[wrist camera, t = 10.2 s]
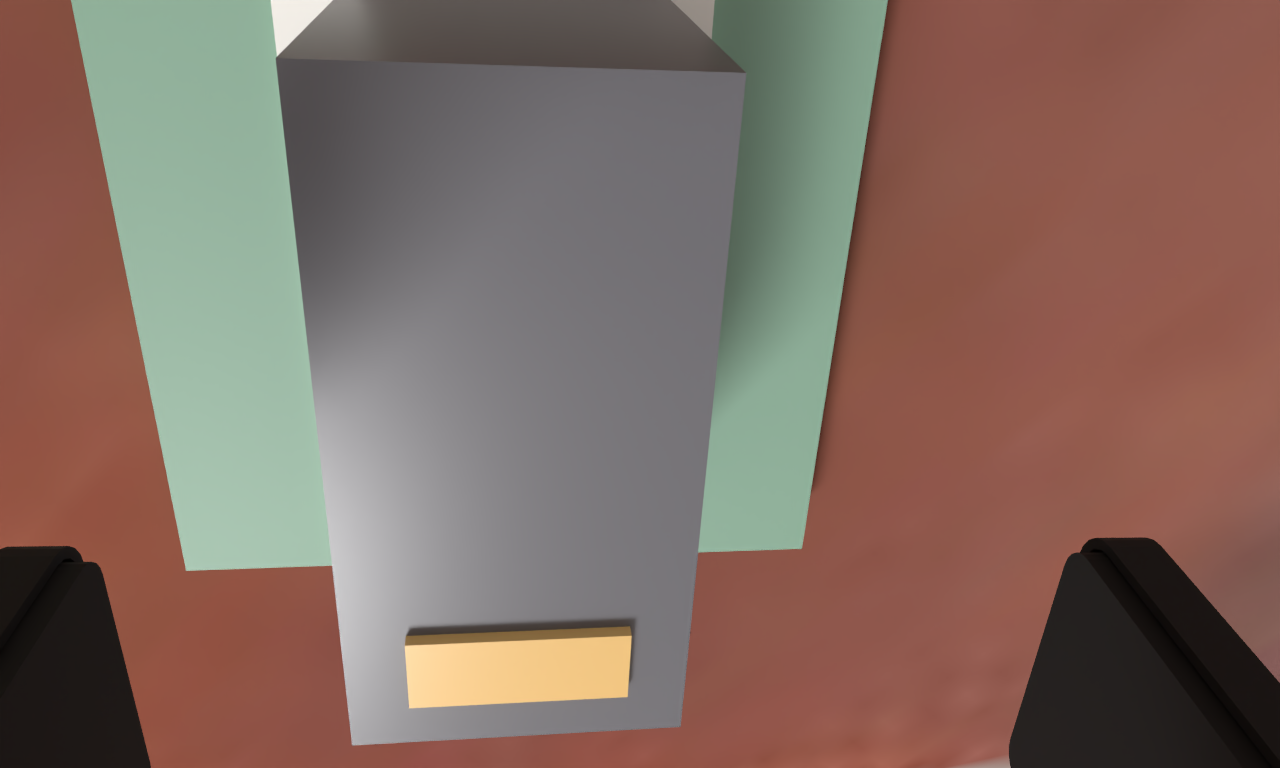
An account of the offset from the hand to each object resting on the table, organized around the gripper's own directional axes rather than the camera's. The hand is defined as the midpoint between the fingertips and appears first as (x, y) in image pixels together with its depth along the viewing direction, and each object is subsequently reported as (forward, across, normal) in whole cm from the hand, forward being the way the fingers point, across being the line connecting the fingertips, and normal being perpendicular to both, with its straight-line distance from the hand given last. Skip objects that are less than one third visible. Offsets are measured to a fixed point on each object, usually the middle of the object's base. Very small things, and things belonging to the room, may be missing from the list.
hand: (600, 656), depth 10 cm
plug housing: (+10, +1, 0) cm, 10 cm away
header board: (+11, +1, 0) cm, 11 cm away
